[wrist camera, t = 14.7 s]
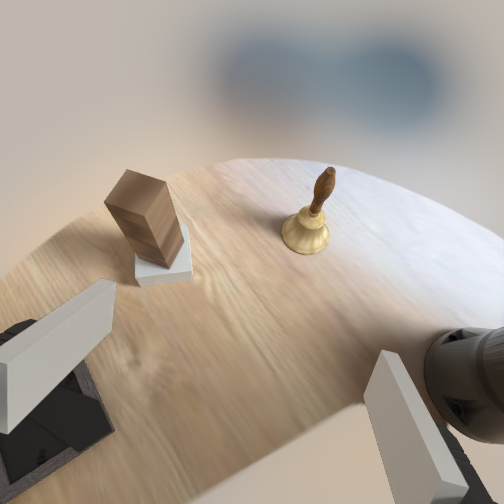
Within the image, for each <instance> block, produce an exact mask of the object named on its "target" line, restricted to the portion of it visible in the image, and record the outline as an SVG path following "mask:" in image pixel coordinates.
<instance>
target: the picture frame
mask: <svg viewBox="0 0 504 504" xmlns="http://www.w3.org/2000/svg"><path fill="white" fill-rule="evenodd" d="M114 431H115V429H114V427H113V424H112V422H111V420H110V418H109V415H108V413H107V411H106V409H105V406H104V404H103V402H102V400H101V397H100V395H99V393H98V391H97V388H96V386H95V384H94V382H93V380H92V377H91V375H90V373H89V371H88V368H87V366H86V364H85V362H84V359H83V360H82V361H81V362H80V363H79V364H78V365H77V366H76V367H75V368H74V369H73V370H72V371H71V372H70V373H69V374H68V375H67V376H66V377H65V378H64V379H63V380H62V381H61V382H60V383H59V384H58V385H57V386H56V387H55V388H54V389H53V390H52V391H51V392H50V393H49V394H48V395H47V396H46V397H45V398H44V399H43V400H42V401H41V402H40V403H39V404H38V405H37V406H36V407H35V408H34V409H33V410H32V411H31V412H30V413H29V414H28V415H27V416H26V417H25V418H24V419H23V420H22V421H21V422H20V423H19V424H18V425H17V426H16V427H15V428H14V429H13V430H12V431H11V432H10V433H9V434H4V433H0V504H6V503H7V502H9V501H10V500H12V499H13V498H15V497H16V496H18V495H19V494H21V493H22V492H24V491H25V490H27V489H28V488H30V487H31V486H33V485H34V484H36V483H38V482H39V481H41V480H42V479H44V478H45V477H47V476H48V475H50V474H51V473H53V472H54V471H56V470H57V469H59V468H60V467H62V466H63V465H65V464H66V463H68V462H69V461H71V460H72V459H74V458H75V457H77V456H78V455H80V454H81V453H83V452H84V451H86V450H87V449H89V448H90V447H92V446H93V445H95V444H96V443H98V442H99V441H101V440H102V439H104V438H105V437H107V436H108V435H110V434H111V433H113V432H114Z"/></svg>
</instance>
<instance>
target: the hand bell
mask: <svg viewBox="0 0 504 504" xmlns="http://www.w3.org/2000/svg"><path fill="white" fill-rule="evenodd" d="M335 173H336V171H335V169H334V168H333V167H328V168H327V169H326V170H325V171H324V172H323V173H322V174H321V175H320V176H319V177H318V179H317V181H316V184H315V187H314V199H313V201H312V204H311V206H305V207H303V208H302V209H301V210H300V211H299V213H297V214H294V215H292V216H290V217H289V218H287V219H286V220H285V222H284V223H283V226H282V230H281V233H282V238H283V240H284V242H285V244H286V245H287V246H288V247H289V248H290V249H292V250H293V251H295V252H297V253H300V254H304V255H311V254H316V253H318V252H320V251H322V250H323V249H324V248H325V247H326V246H327V244H328V241H329V230H328V228H327V226H326V224H325V220H326V219H325V214H324V212H323V211H322V210H321V207H322V205H323V202H324V201H325V200H326V199H327V198H328V197H329V196H330V194H331V193H332V191H333V189H334V186H335Z"/></svg>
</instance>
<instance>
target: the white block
mask: <svg viewBox="0 0 504 504" xmlns="http://www.w3.org/2000/svg"><path fill="white" fill-rule="evenodd" d="M180 228H181V232H182V235H183V238H184V243H183V245H182V247H181V249H180V251H179V253H178V254H177V256H176V258H175V260H174V262H173V264H172V266H171V268H170V269H167V268H164V267H161V266H159V265H156V264H153V263H150V262H148V261H145V260H142V259H139V258H138V256H137V255H136V253H135V278H136V280H137V282H138V283H139V285H140V287H147V286H155V285H163V284H170V283H178V282H186V281H194V278H193V269H192V259H191V249H190V239H189V232H188V227H187V225H180Z"/></svg>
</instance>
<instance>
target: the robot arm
mask: <svg viewBox="0 0 504 504" xmlns="http://www.w3.org/2000/svg"><path fill="white" fill-rule="evenodd" d="M116 284H117V282H114V281H110V280H106V279H100V280H99V281H97V282H96V283H94V284H93V285H91V286H90V287H88V288H87V289H85V290H84V291H82V292H81V293H79V294H78V295H76V296H75V297H73V298H72V299H70V300H69V301H67V302H66V303H64V304H63V305H61V306H60V307H58V308H57V309H55V310H54V311H52V312H51V313H49V314H48V315H46V316H45V317H43V318H42V319H40V320H39V321H36V320H32V319H29V320H26V321H23V322H20V323H17V324H15V325H13V326H12V327H10V328H9V329H7V330H5V331H4V333H1V334H0V433H4V434H9V433H10V432H11V431H12V430H13V429H14V428H15V427H16V426H17V425H18V424H19V423H20V422H21V421H22V420H23V419H24V418H25V417H26V416H27V415H28V414H29V413H30V412H31V411H32V410H33V409H34V408H35V407H36V406H37V405H38V404H39V403H40V402H41V401H42V400H43V399H44V398H45V397H46V396H47V395H48V394H49V393H50V392H51V391H52V390H53V389H54V388H55V387H56V386H57V385H58V384H59V383H60V382H61V381H62V380H63V379H64V378H65V377H66V376H67V375H68V374H69V373H70V372H71V371H72V370H73V369H74V368H75V367H76V366H77V365H78V364H79V363H80V362H81V361H82V360H83V359H84V358H85V357H86V356H87V355H88V354H89V353H90V352H91V351H92V350H93V349H94V348H95V347H96V346H97V345H98V344H99V343H100V342H101V341H102V340H103V339H104V338H105V337H106V336H107V335H108V334H109V333H110V332H111V331H112V322H113V312H114V303H115V293H116ZM424 374H425V381H426V386H427V389H428V392H429V395H430V397H431V399H432V401H433V403H434V405H435V406H436V408H437V409H438V411H439V412H440V414H441V415H442V416H443V417H444V419H445V420H446V421H447V422H448V423H449V424H450V425H451V426H453V427H454V428H455V429H456V430H458V431H459V432H460V433H462V434H464V435H465V436H467V437H469V438H471V439H473V440H476V441H479V442H483V443H490V444H504V327H502V328H499V329H483V328H461V329H456V330H453V331H451V332H448V333H446V334H444V335H442V336H440V337H439V338H437V339H436V340H435V341H434V342H433V344H432V345H431V346H430V348H429V350H428V352H427V355H426V359H425V365H424ZM363 397H364V400H365V404H366V407H367V410H368V414H369V417H370V420H371V424H372V427H373V430H374V434H375V437H376V440H377V444H378V447H379V451H380V454H381V457H382V461H383V464H384V467H385V471H386V474H387V477H388V481H389V484H390V487H391V491H392V494H393V497H394V501H395V504H498V503H496V502H493V500H492V499H491V497H490V495H489V494H488V492H487V490H486V488H485V487H484V485H483V483H482V481H481V480H480V478H479V476H478V474H477V473H476V471H475V469H474V468H473V466H472V465H471V464H470V461H469V459H468V457H467V455H466V454H464V451H463V449H462V447H461V446H460V444H459V442H458V440H457V438H455V436H453V434H452V433H451V432H450V431H449V430H448V429H447V428H446V427H445V426H442V425H438V424H435V423H434V421H433V419H432V417H431V415H430V413H429V411H428V410H427V408H426V406H425V404H424V402H423V400H422V398H421V396H420V395H419V393H418V391H417V389H416V387H415V385H414V383H413V381H412V380H411V378H410V376H409V374H408V372H407V370H406V368H405V366H404V364H403V363H402V361H401V359H400V357H399V355H398V353H394V352H390V351H386V350H381V352H380V355H379V357H378V360H377V362H376V365H375V368H374V370H373V373H372V375H371V378H370V380H369V383H368V385H367V388H366V390H365V393H364V395H363Z"/></svg>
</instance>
